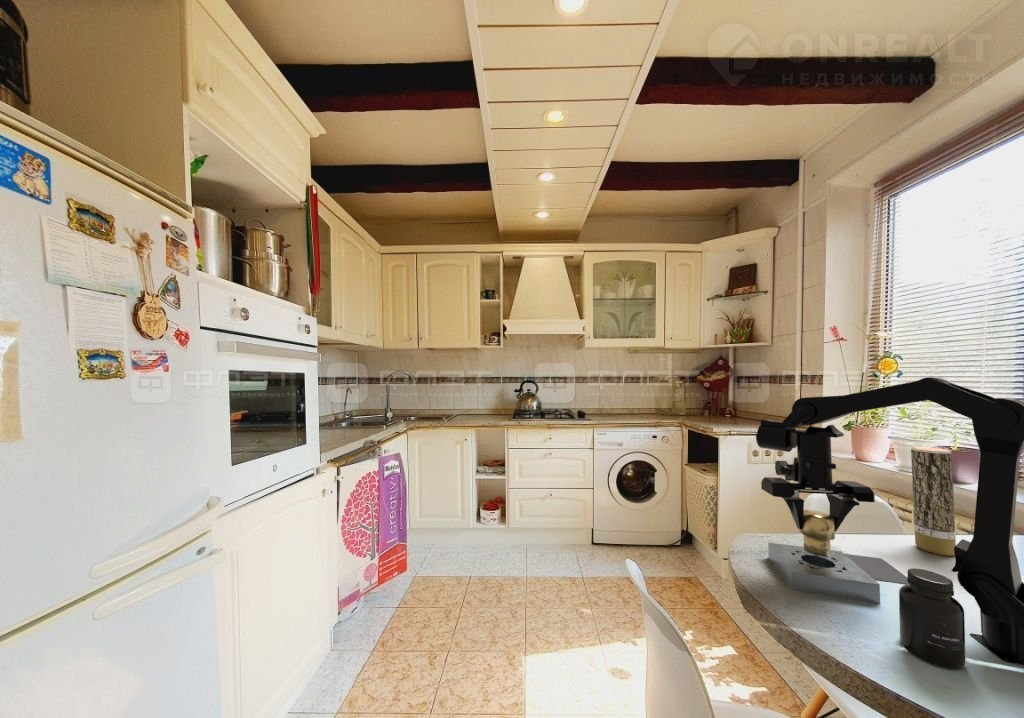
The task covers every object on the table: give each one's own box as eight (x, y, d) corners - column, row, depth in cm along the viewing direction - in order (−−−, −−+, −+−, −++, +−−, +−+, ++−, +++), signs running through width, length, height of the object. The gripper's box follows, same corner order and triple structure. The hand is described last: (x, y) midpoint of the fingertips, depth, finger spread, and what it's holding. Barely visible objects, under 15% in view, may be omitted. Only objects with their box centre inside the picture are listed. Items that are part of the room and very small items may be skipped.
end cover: (842, 559, 76) (841, 521, 77) (809, 557, 77) (808, 519, 78) (823, 546, 82) (822, 510, 83) (793, 544, 83) (792, 509, 84)
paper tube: (941, 546, 96) (936, 447, 97) (965, 558, 89) (959, 452, 90) (908, 543, 98) (903, 445, 99) (928, 555, 91) (924, 450, 92)
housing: (880, 606, 71) (879, 584, 71) (792, 592, 75) (791, 571, 75) (841, 569, 84) (841, 551, 84) (768, 559, 88) (768, 542, 88)
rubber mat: (918, 588, 77) (917, 585, 77) (857, 579, 80) (857, 576, 80) (881, 560, 88) (881, 558, 88) (829, 554, 91) (829, 551, 91)
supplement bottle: (948, 676, 54) (944, 590, 55) (889, 643, 61) (886, 567, 61) (978, 666, 56) (974, 583, 56) (918, 636, 62) (915, 562, 63)
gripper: (838, 450, 87) (840, 519, 86) (749, 447, 90) (751, 513, 90) (875, 461, 76) (878, 539, 75) (773, 457, 79) (775, 532, 79)
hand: (816, 530), depth 80 cm, fingers closed on end cover, 6 cm apart
